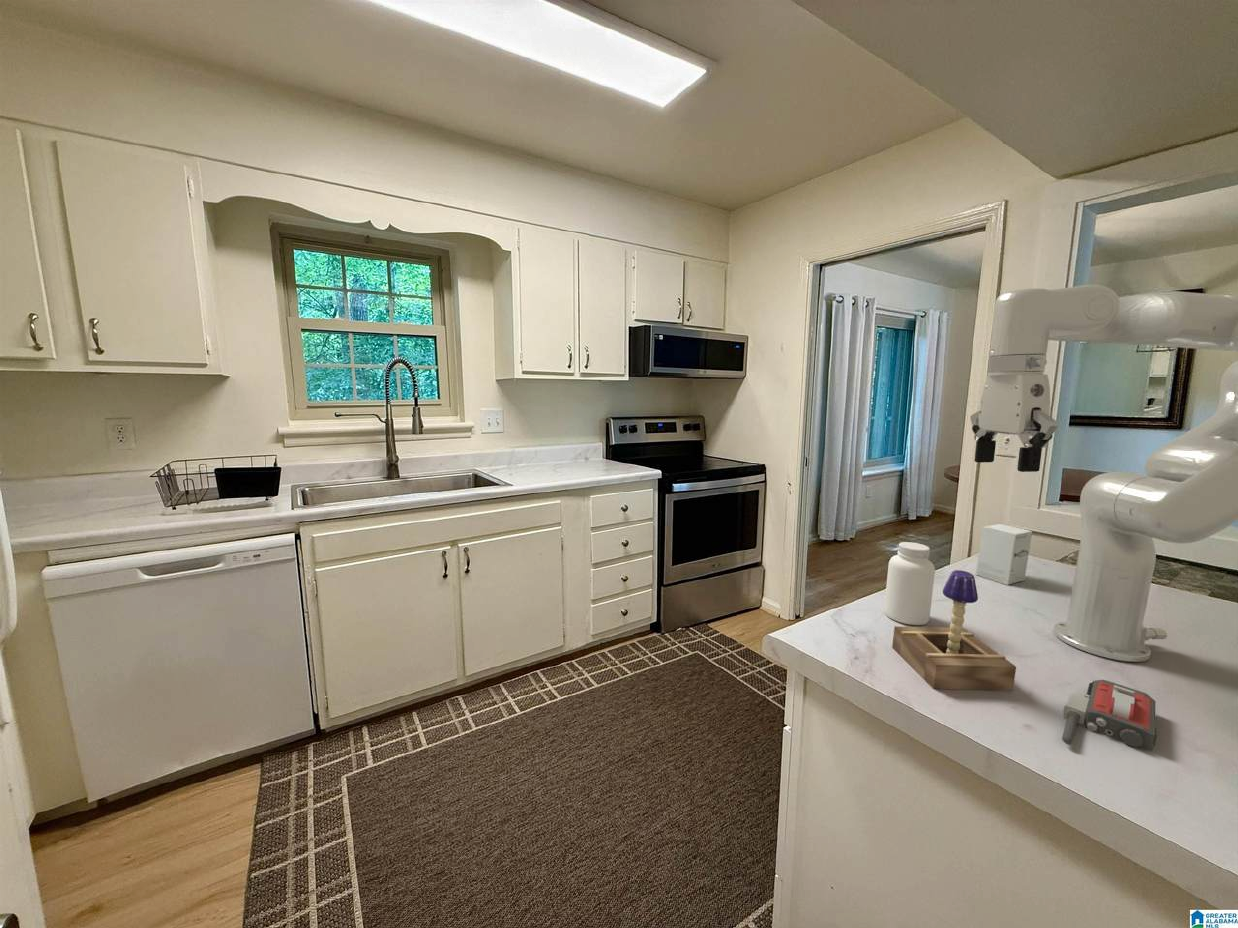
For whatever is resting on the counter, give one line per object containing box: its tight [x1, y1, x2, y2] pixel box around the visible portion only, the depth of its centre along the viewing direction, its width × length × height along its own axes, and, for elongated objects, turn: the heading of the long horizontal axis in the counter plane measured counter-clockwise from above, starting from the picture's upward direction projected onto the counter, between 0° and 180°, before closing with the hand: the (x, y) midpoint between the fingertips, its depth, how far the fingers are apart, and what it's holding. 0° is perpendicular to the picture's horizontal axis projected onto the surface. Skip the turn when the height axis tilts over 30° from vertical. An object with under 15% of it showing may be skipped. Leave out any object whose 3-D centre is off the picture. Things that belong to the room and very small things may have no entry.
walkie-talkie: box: [1061, 679, 1157, 752], centre depth 67 cm, size 9×4×20 cm
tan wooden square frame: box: [891, 626, 1017, 692], centre depth 81 cm, size 12×12×4 cm
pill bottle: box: [883, 541, 936, 626], centre depth 98 cm, size 8×8×15 cm
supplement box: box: [975, 523, 1033, 586], centre depth 119 cm, size 7×7×13 cm
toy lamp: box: [942, 569, 979, 654], centre depth 79 cm, size 5×5×17 cm
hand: (1004, 466), depth 85 cm, fingers open, 9 cm apart
